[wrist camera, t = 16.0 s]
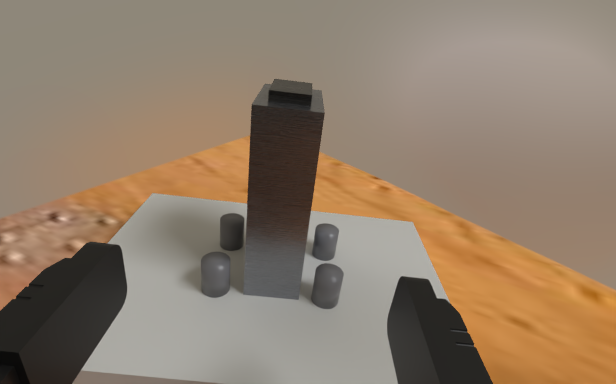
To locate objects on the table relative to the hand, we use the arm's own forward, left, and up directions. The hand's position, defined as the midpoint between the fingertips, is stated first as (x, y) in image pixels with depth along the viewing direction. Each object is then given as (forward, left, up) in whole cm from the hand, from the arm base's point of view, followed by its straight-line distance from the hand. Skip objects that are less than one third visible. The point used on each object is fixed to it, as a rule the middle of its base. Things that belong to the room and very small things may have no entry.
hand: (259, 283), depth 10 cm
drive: (0, -10, -8) cm, 13 cm away
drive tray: (0, -10, -9) cm, 14 cm away
